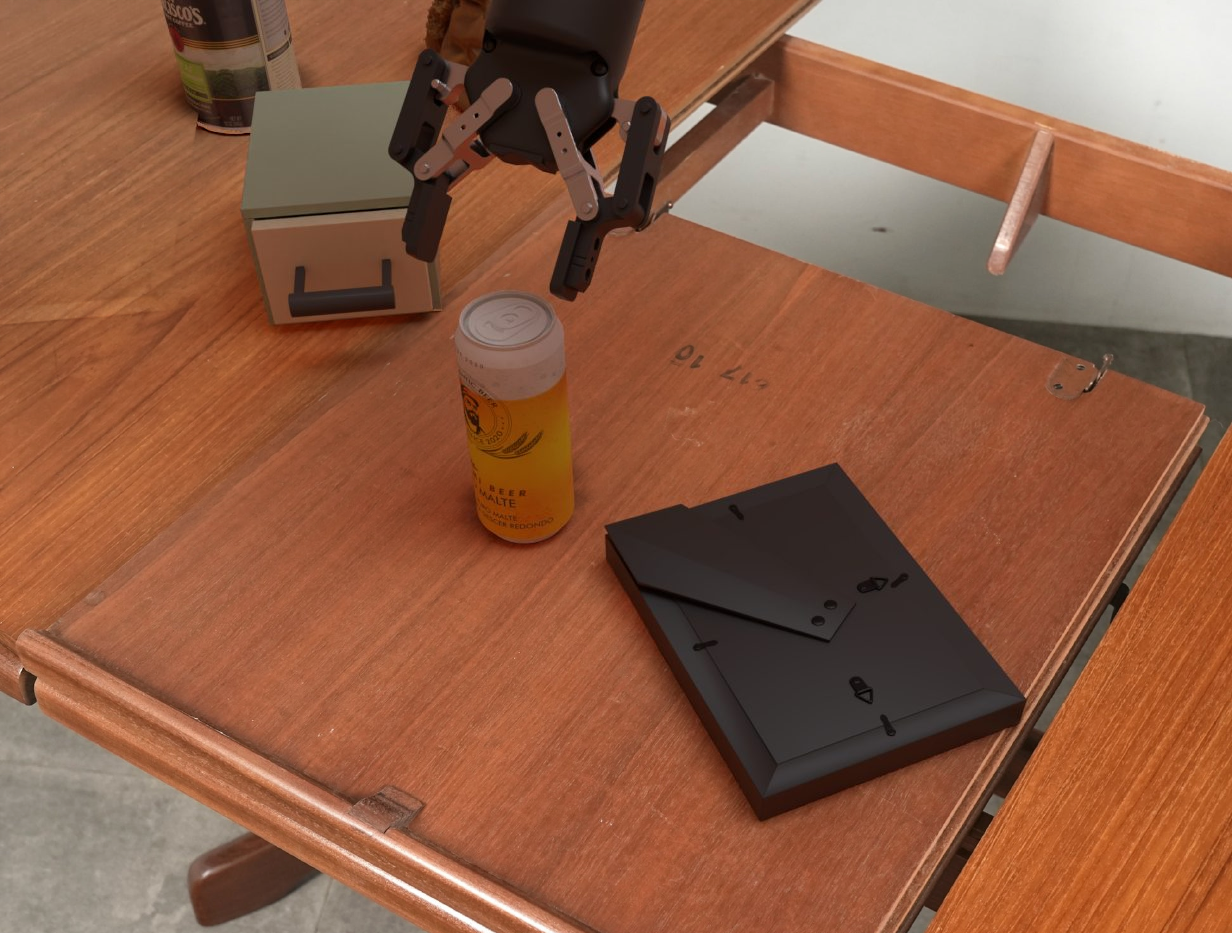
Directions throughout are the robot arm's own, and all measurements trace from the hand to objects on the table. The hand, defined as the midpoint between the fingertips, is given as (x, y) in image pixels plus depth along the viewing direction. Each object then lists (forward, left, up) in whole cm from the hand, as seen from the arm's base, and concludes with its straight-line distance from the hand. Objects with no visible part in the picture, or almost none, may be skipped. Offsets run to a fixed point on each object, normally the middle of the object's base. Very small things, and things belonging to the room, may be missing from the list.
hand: (489, 278), depth 72 cm
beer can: (+1, +1, -19) cm, 19 cm away
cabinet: (-10, +32, -19) cm, 39 cm away
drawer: (-10, +28, -18) cm, 35 cm away
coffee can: (-20, +57, -19) cm, 63 cm away
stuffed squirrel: (+1, +59, -19) cm, 62 cm away
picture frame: (+16, -11, -19) cm, 27 cm away
